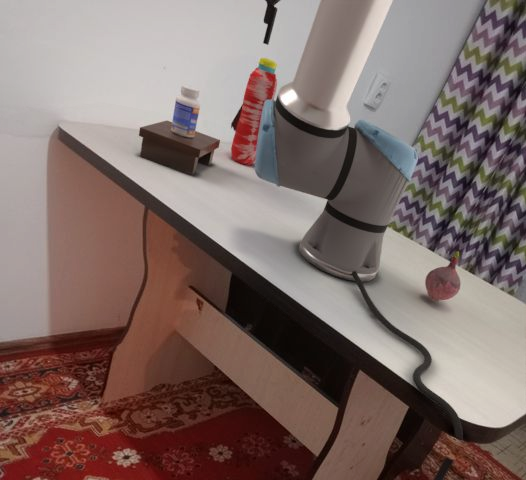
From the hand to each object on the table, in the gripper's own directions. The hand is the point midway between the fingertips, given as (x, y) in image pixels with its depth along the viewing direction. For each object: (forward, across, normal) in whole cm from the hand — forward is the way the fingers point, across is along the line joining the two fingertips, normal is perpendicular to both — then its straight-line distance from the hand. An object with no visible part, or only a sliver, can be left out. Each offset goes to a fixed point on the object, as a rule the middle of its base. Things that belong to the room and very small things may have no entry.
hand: (295, 55), depth 97 cm
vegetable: (+29, -40, +34) cm, 60 cm away
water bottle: (+28, +9, -18) cm, 35 cm away
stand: (+28, +20, +3) cm, 34 cm away
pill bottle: (+22, +20, +3) cm, 30 cm away
